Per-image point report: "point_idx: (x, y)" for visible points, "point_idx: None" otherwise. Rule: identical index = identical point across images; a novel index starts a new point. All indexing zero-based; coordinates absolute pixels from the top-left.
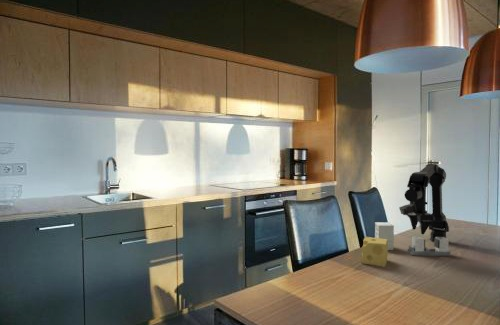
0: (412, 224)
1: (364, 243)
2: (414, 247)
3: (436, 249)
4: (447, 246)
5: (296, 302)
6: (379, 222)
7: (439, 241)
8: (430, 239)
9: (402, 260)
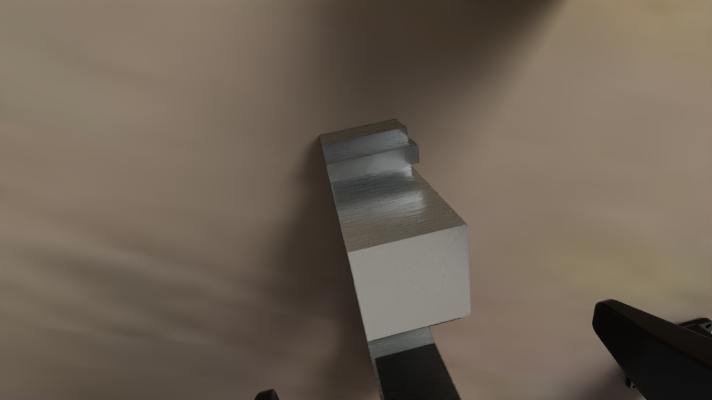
0: (700, 371)
1: None
2: (357, 190)
3: (411, 336)
4: None
5: None
6: None
7: None
8: (701, 321)
9: (96, 7)
